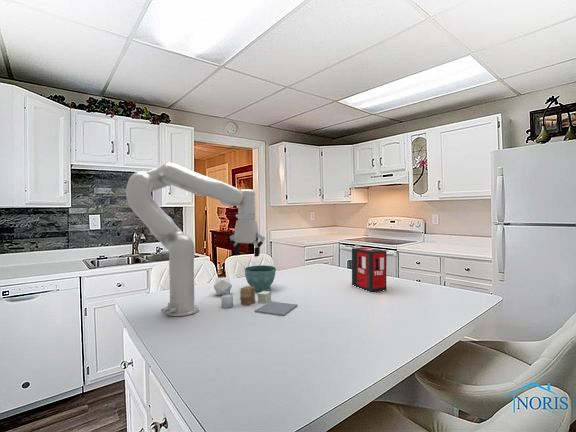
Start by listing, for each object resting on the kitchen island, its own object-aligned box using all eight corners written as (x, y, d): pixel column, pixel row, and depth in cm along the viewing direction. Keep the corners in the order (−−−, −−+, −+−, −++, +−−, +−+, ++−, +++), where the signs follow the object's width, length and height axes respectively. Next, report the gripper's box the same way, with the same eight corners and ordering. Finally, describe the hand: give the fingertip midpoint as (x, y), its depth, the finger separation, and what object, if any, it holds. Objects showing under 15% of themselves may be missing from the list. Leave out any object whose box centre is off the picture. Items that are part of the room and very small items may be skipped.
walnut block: (249, 305, 140) (249, 289, 140) (241, 304, 142) (240, 288, 142) (255, 302, 144) (254, 287, 144) (246, 301, 146) (246, 286, 146)
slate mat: (283, 316, 126) (283, 314, 126) (254, 312, 131) (254, 310, 131) (297, 305, 139) (297, 304, 139) (270, 302, 144) (270, 301, 144)
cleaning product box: (386, 290, 163) (386, 251, 162) (372, 293, 159) (372, 252, 158) (365, 283, 178) (365, 247, 177) (351, 285, 174) (351, 248, 173)
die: (225, 299, 152) (236, 280, 156) (208, 290, 152) (220, 271, 156) (225, 300, 160) (235, 282, 164) (209, 292, 160) (220, 274, 164)
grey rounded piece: (229, 308, 136) (228, 298, 136) (219, 307, 138) (219, 297, 138) (235, 305, 140) (235, 295, 140) (226, 304, 143) (225, 294, 142)
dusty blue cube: (250, 300, 149) (250, 291, 149) (240, 299, 149) (240, 291, 149) (252, 297, 154) (252, 288, 154) (242, 296, 154) (242, 288, 154)
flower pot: (271, 294, 158) (271, 271, 158) (240, 292, 162) (239, 270, 161) (279, 285, 174) (279, 265, 174) (250, 284, 177) (250, 265, 177)
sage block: (265, 303, 144) (265, 294, 143) (257, 302, 145) (257, 293, 145) (271, 300, 148) (270, 291, 148) (263, 299, 150) (263, 290, 150)
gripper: (225, 217, 144) (225, 255, 144) (260, 217, 137) (260, 258, 138) (234, 216, 151) (234, 253, 151) (268, 217, 144) (268, 255, 145)
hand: (247, 255), depth 145 cm, fingers open, 9 cm apart
